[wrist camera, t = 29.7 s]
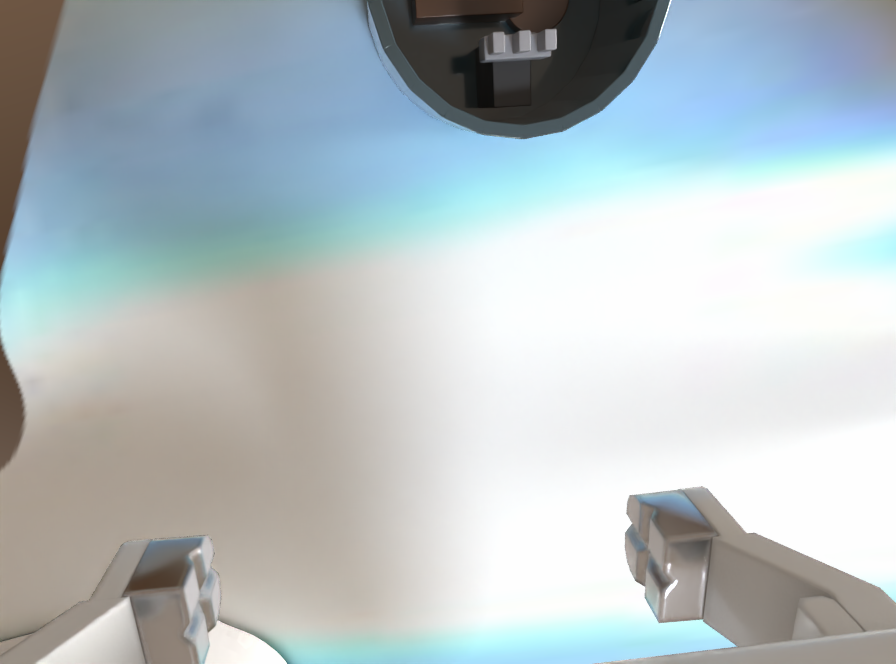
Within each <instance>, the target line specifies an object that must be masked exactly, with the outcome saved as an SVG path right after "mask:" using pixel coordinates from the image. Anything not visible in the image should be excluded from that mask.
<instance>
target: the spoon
mask: <svg viewBox="0 0 896 664" xmlns="http://www.w3.org/2000/svg"><path fill="white" fill-rule="evenodd" d="M568 4H569V0H411V6H412V21H413V25H414V26H415V25H435V24H455V23H475V22H495V21H506V23H507V24H508V26H509V27H510V28H511V29H513V30H514V31H515V32H518V31H521V30H530V31H531V33H539V32H541V31H543V30H545V29H553V28H554V27H555V26H557V25H558V24H559V23H560V21H561V20H562V19H563V17H564V15H565V13H566V11H567V8H568Z"/></svg>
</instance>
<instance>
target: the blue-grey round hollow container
mask: <svg viewBox="0 0 896 664" xmlns="http://www.w3.org/2000/svg"><path fill="white" fill-rule="evenodd" d="M670 2H671V0H569V4H568V8H567V11H566V13H565V15H564V17H563V19H562V20H561V21H560V23H559V24H558V25H557V26H555V27H554V28H553V29H556V40H557V48H556V49H555V50H552V51H551V56H550V57H547V58H544V59H537V60H531V105H530V106H517V107H501V108H478V103H477V79H476V56H475V49H476V48H477V47H479V40H480V39H481V38H483V37H484V36H488V35H490V34H492V33H493V32H504V34H505V35H509V34H515V33H516V32H515V31H514V30H513V29H511V28H510V27H509V26H508V24H507V23H506V21H495V22H475V23H455V24H435V25H415V26H414V25H413V21H412V6H411V0H367V8H368V23H369V28H370V31H371V34H372V37H373V40H374V44H375V46H376V49H377V52H378V55H379V58H380V61H381V62H382V65H383V66H384V67H385V69H386V70H387V72H388V74H389V75H390V77H391V78H392V80H393V81H394V83H395V84H396V85H397V87H398V88H399V90H400V91H401V92H402V93H403V95H405V96H406V97H407V98H408V99H409V100H410V101H411V102H413V103H414V104H415V105H416V106H417V107H418V108H420V109H421V110H422V111H424V112H425V113H426V114H427V115H429V116H430V117H432V118H435V119H437V120H439V121H442V122H444V123H446V124H449V125H451V126H453V127H455V128H458V129H461V130H465V131H469V132H473V133H477V134H481V135H488V136H497V137H506V138H515V139H527V138H532V137H537V136H543V135H548V134H553V133H558V132H563V131H565V130H567V129H569V128H571V127H573V126H575V125H577V124H578V123H580V122H582V121H584V120H586V119H588V118H590V117H592V116H594V115H596V114H597V113H599V112H600V111H602V110H603V109H605V108H606V107H607V106H608V105H609V104H610V103H611V102H612V101H613V100H614V99H615V98H616V97H617V96H618V95H619V94H620V93H621V92H622V91H624V90H625V89H626V88H627V87H628V86H629V85H630V84H631V83H632V82H633V80H634V79H635V78H636V76H637V75H638V73H639V71H640V70H641V68H642V67H643V65H644V63H645V62H646V60H647V58H648V57H649V55H650V54H651V52H652V50H653V49H654V47H655V46H656V44H657V41H658V40H659V36H660V33H661V30H662V27H663V24H664V21H665V18H666V15H667V12H668V8H669V5H670Z"/></svg>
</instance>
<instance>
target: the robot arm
mask: <svg viewBox="0 0 896 664" xmlns="http://www.w3.org/2000/svg"><path fill="white" fill-rule="evenodd" d="M626 514H627V515H628V517H629V518H630V520H631V522H632V525H631V526H630V527H629V528H628V530H627V531H626V532H625V551H626V558H627V563H628V565H629V568H630V571H631V573H632V575H633V577H634V579H635V581H636V582H638V583H640V584H642V585H643V586H645V599H646V601H647V603H648V604H649V606H650V608H651V610H652V611H653V613H654V615H655V617H656V619H657V620H658V622H659V623H664V622H676V621H688V620H700V619H703V622H705V623H706V624H707V625H709V626H710V627H712V628H713V629H714V630H716V631H717V632H718V633H720V634H721V635H723V636H724V637H725V638H727V639H728V640H729V641H731V642H732V643H734V644H735V645H736V646H738V647H731V648H722V649H714V650H705V651H697V652H688V653H680V654H671V655H663V656H655V657H646V658H638V659H629V660H621V661H612V662H604V663H595V664H896V603H895V602H894V601H893V600H892V599H891V598H890V597H889V596H888V595H887V594H886V593H885V592H884V591H883V590H882V589H881V588H879V587H877V586H875V585H872V584H870V583H868V582H865V581H863V580H861V579H859V578H856V577H854V576H852V575H849V574H847V573H845V572H843V571H840V570H838V569H836V568H833V567H831V566H829V565H827V564H824V563H822V562H820V561H818V560H815V559H813V558H811V557H808V556H806V555H804V554H802V553H799V552H797V551H795V550H792V549H790V548H788V547H786V546H783V545H781V544H779V543H776V542H774V541H772V540H770V539H767V538H765V537H763V536H760V535H758V534H756V533H746V532H745V531H744V530H743V528H742V527H741V526H740V525H739V524H738V523H737V522H736V521H735V519H734V518H733V517H732V516H731V515H730V514H729V513H728V512H727V510H726V509H725V508H724V507H723V506H722V505H721V504H720V503H719V501H718V500H717V499H716V498H715V497H714V496H713V495H712V493H711V492H710V491H709V490H708V489H707V488H705V487H702V486H701V487H693V488H685V489H678V490H674V491H665V492H656V493H647V494H638V495H630V496H629V499H628V502H627V513H626ZM214 554H215V552H214V548H213V543H212V539H211V538H210V537H209V536H208V535H199V536H186V537H172V538H159V539H154V540H153V539H146V540H136V541H127V542H125V543H124V544H122V545H121V546H120V548H119V550H118V551H117V553H116V555H115V557H114V558H113V560H112V562H111V563H110V565H109V567H108V568H107V570H106V572H105V574H104V575H103V577H102V579H101V580H100V582H99V584H98V586H97V587H96V589H95V591H94V592H93V594H92V596H91V597H90V599H89V601H82V602H79V603H77V604H76V605H74V606H73V607H71V608H70V609H68V610H67V611H66V612H64V613H63V614H61V615H60V616H58V617H57V618H55V619H54V620H52V621H51V622H49V623H48V624H46V625H45V626H43V627H42V628H40V629H39V630H37V631H36V632H34V633H32V634H28V635H24V636H21V637H17V638H13V639H9V640H6V641H2V642H0V664H287V663H286V661H285V660H284V659H283V658H282V657H281V655H280V654H279V653H278V652H277V651H276V650H274V649H273V648H272V647H271V646H269V645H268V644H267V643H265V642H264V641H262V640H261V639H259V638H257V637H255V636H253V635H251V634H249V633H247V632H245V631H242V630H240V629H237V628H234V627H232V626H229V625H227V624H224V623H222V622H220V621H218V617H219V613H220V604H221V586H220V579H219V573H217V572H216V571H215V570H214V569H213V568H212V567H211V563H212V560H213V557H214Z"/></svg>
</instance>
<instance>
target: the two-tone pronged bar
mask: <svg viewBox="0 0 896 664" xmlns="http://www.w3.org/2000/svg"><path fill="white" fill-rule="evenodd" d="M556 48H557V40H556V29H545V30H543V31H541V32H539V33H531V31H530V30H521V31H518V32H516V33H515V34H509V35H505V34H504V32H493V33H492V34H490V35H488V36H484V37H483V38H481V39H480V40H479V47H477V48H476V49H475V56H476V79H477V103H478V108H501V107H517V106H530V105H531V60H537V59H544V58H547V57H550V56H551V51H552V50H555V49H556Z"/></svg>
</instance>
